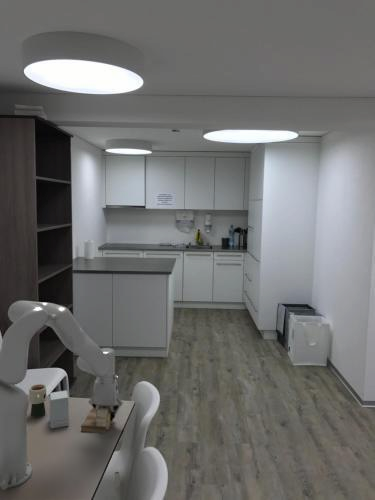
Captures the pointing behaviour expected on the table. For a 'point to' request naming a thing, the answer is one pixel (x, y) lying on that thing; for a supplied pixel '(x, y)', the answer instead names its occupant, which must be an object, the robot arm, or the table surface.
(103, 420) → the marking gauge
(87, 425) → the walnut board
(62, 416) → the supplement box
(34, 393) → the character mug
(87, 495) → the table surface
